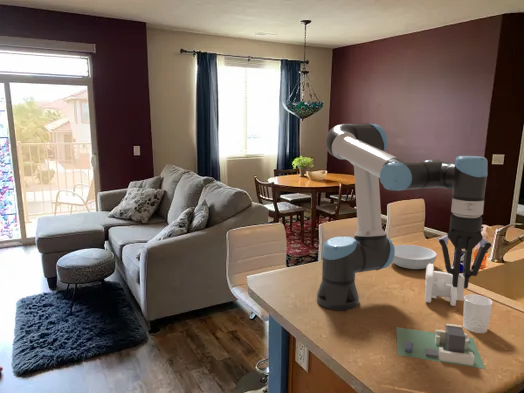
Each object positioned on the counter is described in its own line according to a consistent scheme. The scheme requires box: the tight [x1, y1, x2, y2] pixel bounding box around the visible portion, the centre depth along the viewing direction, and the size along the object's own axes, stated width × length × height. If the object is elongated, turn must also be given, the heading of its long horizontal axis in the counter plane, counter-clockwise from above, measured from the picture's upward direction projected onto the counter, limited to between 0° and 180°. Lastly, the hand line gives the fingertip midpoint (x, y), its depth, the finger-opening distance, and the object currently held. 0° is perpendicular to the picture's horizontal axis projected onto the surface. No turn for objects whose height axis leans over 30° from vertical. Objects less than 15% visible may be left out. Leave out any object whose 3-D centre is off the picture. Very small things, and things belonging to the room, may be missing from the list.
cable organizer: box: [424, 263, 457, 307], centre depth 146 cm, size 15×11×12 cm
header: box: [434, 329, 474, 365], centre depth 112 cm, size 8×11×4 cm
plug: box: [444, 323, 466, 354], centre depth 111 cm, size 4×6×7 cm, turn 163°
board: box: [395, 326, 486, 370], centre depth 115 cm, size 22×16×3 cm
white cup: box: [462, 293, 493, 334], centre depth 125 cm, size 8×8×10 cm
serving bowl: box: [392, 244, 437, 270], centre depth 180 cm, size 21×21×7 cm
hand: (458, 298), depth 109 cm, fingers closed
